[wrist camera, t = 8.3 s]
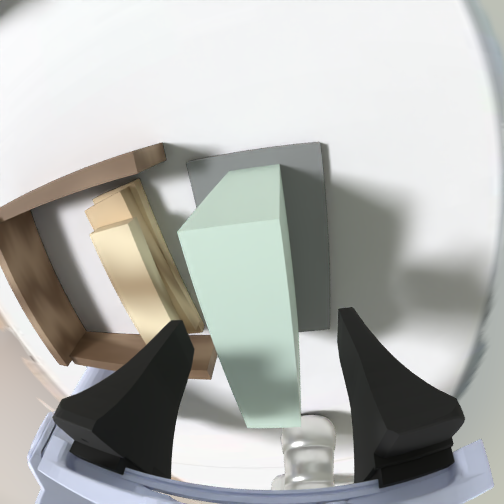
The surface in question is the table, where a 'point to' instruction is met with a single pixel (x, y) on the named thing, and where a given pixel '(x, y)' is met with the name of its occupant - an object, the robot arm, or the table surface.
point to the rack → (49, 288)
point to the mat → (288, 217)
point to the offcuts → (140, 261)
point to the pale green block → (249, 292)
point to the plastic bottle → (309, 453)
